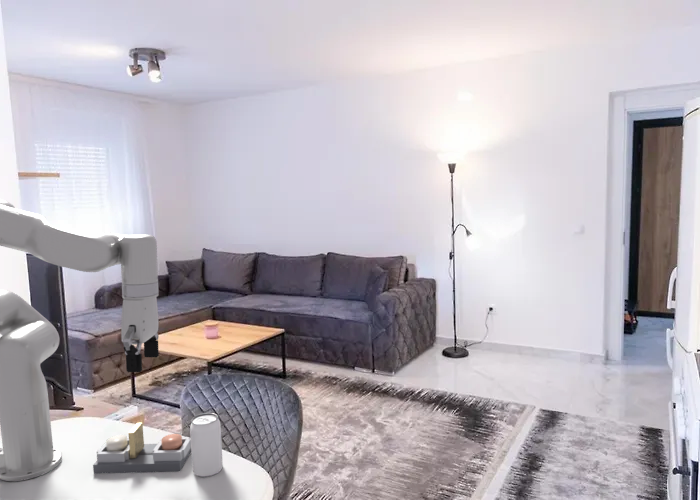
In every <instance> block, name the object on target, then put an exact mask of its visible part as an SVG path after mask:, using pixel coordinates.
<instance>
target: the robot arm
mask: <svg viewBox="0 0 700 500" xmlns="http://www.w3.org/2000/svg"><path fill="white" fill-rule="evenodd" d="M157 242H158V241H157V238H156V237H155V236H153V235H152V234H148V233H147V234H145V233H143V234H142V233H138V234H134V233H133V234H120V233H111V232H103V233H97V234H94V235H89V236H88V235H84V234H80V233H75V232H73V231H68V230H64V229H61V228H58V227H55V226H54V225H52V224H50V223H49V222H48V220H47V218H46V216H43V215H42V214H39V213H35V212H31V211H27V210H23V209H19V208H16V207H15V206H14V205H13V204H12V203H10V202H9V201H7V200H4V199H1V198H0V247H3V248H9V249H12V250H17V251H21V252H25V253H28V254H30V255H32V256H33V257H35V258H37V259H39V260H42V261H43V262H47V263H49V264H51V265H55V266H58V267H61V268H65V269H69V270H75V271H79V272H83V273H85V272H86V273H98V272H100V271H104V270H106V269H107V268H111V267H113V266H118V265H120V272H121V273H120V275H121V276H120V277H121V294H122V295H121V297H122V300H123V301H122V306H121V308H122V309H121V329H120V330H121V331H120V332H121V342H122V345H123V349H124V355H125V363H126V365H125V366H126V372H127V373H141V372H142V371H143V360H142V357H143V356H142V353H141V348H142V345H143V352H144V353H143V355H144V358H158V357H159V355H160V354H159V353H160V351H159V338H160V337H159V334H158V332H159V329H160V328H159V322H160V320H159V309H158V302H157V301H158V300H157V297H159V273H158V272H159V271H158V245H157V244H158V243H157ZM57 330H58V329H57V328H56V327H55V326H54V324H52V322H50V321H49V320H48V319H47V318H46V317H44V315H42V314H41V313H40V312H39V311H38V310H36V309H35V308H34V307H33V306H32V305H31V304H29V302H28V301H26V300H25V299H23V298H22V296H20V295H18V294H17V293H14V292H13V291H10V290H8V289H7V290H6V289H0V335H1V336H0V436H1V444H2V445H1V447H0V480H3V481H7V482H18V481H26V480H29V479H33V478H36V477H39V476H43V475H45V474H47V473H49V472H51V471H52V470H54V469H55V468H56V467H58V465H60V463H61V462H62V460H63V457H62V452H61V451H60V449H57V448H54V443H53V435H52V434H53V433H52V423H51V414H50V413H51V412H50V403H49V402H50V401H49V394H48V384H47V381H46V378H45V376H44V373H43V372H42V371H43V370H42V368H41V364H42V363H43V362H44V361H45V360H46V359H48V358H49V357H51V356H52V355H53V354H54V353H55V352H56V351H57V349H58V347H59V346H60V335H59V332H58V331H57ZM135 345H136V347H135Z"/></svg>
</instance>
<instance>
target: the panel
mask: <svg viewBox="0 0 700 500" xmlns="http://www.w3.org/2000/svg"><path fill="white" fill-rule="evenodd" d="M161 440H162V439H160V440H159V441H158V442H157V443H144V448H143V449H142V451H141V452H140V453H139V454H138V456H137V457H136V458H130V447H129V437H127V443H128V446H127V448H126V449H125V450H123V451H111V452H107V447H106V441H105V442H104V443H103V445H101V446H100V448H98V449H97V451H96V460H95V462H94V463H93V464H92V466H93V467H92V469H93V470H92V471H93V474H95V475H96V474H126V473H127V474H128V473H129V474H132V473H135V474H136V473H141V474H142V473H171V472H172V473H173V472H174V473H176V472H180V473H181V471H182V468H183V467H184V466H185V464H186V462H187V460H188V459H189V456H191V454H192V453H191V437H190V436H182V447H181V448H180V449H178V450H162V442H161Z"/></svg>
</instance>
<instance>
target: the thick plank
mask: <svg viewBox="0 0 700 500" xmlns="http://www.w3.org/2000/svg"><path fill="white" fill-rule="evenodd" d="M128 438H129V447H130V458H136V457H137V456H138V454H139V453H140V452H141V451H142V449H143V448H144V444H145V439H144V425H143V422H136V424H135V425H134V426H132V428H131V429H130V430H129V431H128Z"/></svg>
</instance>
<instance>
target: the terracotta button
mask: <svg viewBox="0 0 700 500" xmlns="http://www.w3.org/2000/svg"><path fill="white" fill-rule="evenodd" d="M182 437H183V436H182V435H181V434H180V433H171V434H168V435H164V436H163V437H162V438H161V439H160V440H161V442H162V450H178V449H180V448H181V447H182Z"/></svg>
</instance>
